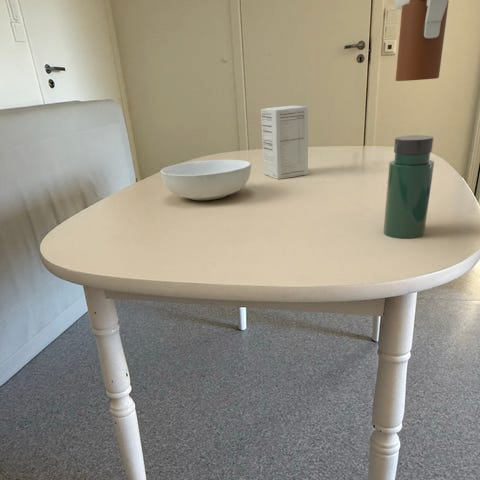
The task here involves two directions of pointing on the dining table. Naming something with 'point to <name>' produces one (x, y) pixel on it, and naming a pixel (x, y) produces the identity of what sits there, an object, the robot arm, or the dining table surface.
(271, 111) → the supplement box
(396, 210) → the green bottle
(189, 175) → the serving bowl
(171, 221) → the dining table surface
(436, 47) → the amber bottle
